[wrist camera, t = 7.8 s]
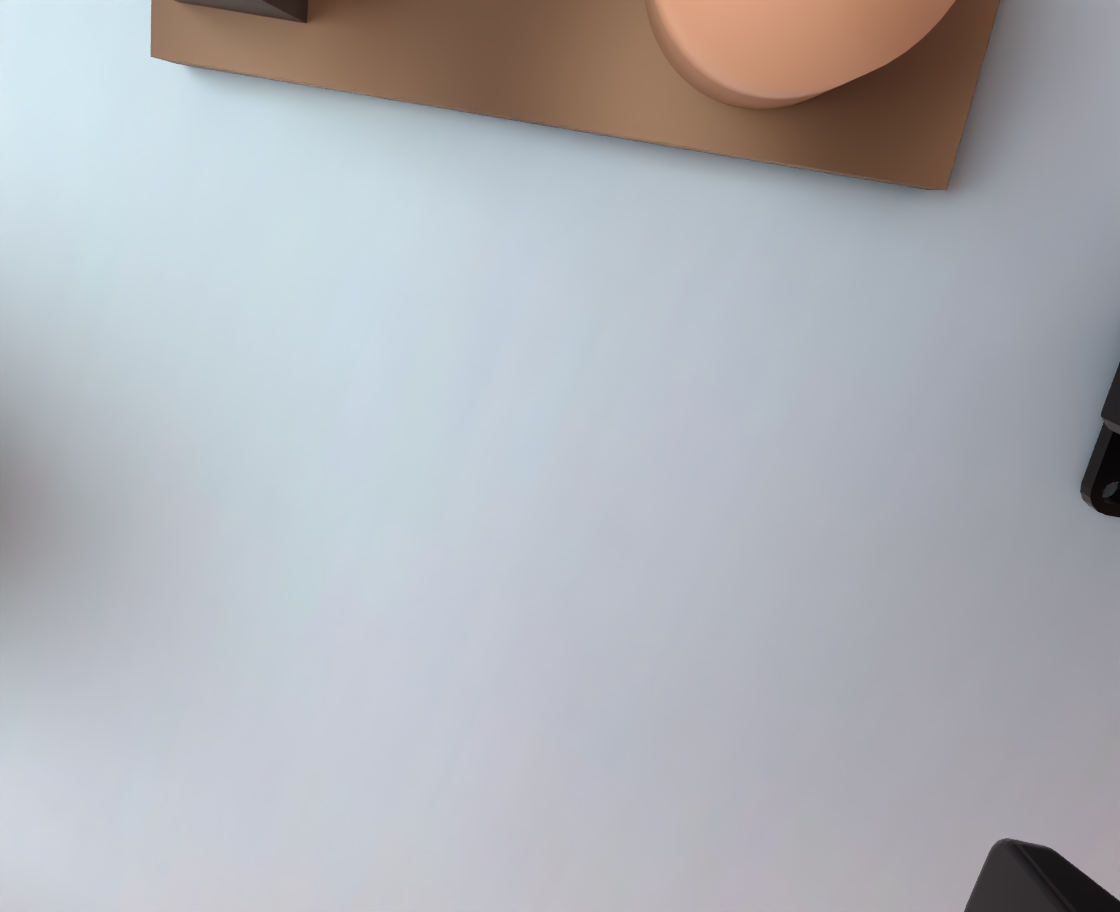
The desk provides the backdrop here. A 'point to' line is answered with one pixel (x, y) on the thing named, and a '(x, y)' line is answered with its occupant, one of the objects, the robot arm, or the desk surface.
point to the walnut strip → (592, 75)
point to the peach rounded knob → (784, 44)
